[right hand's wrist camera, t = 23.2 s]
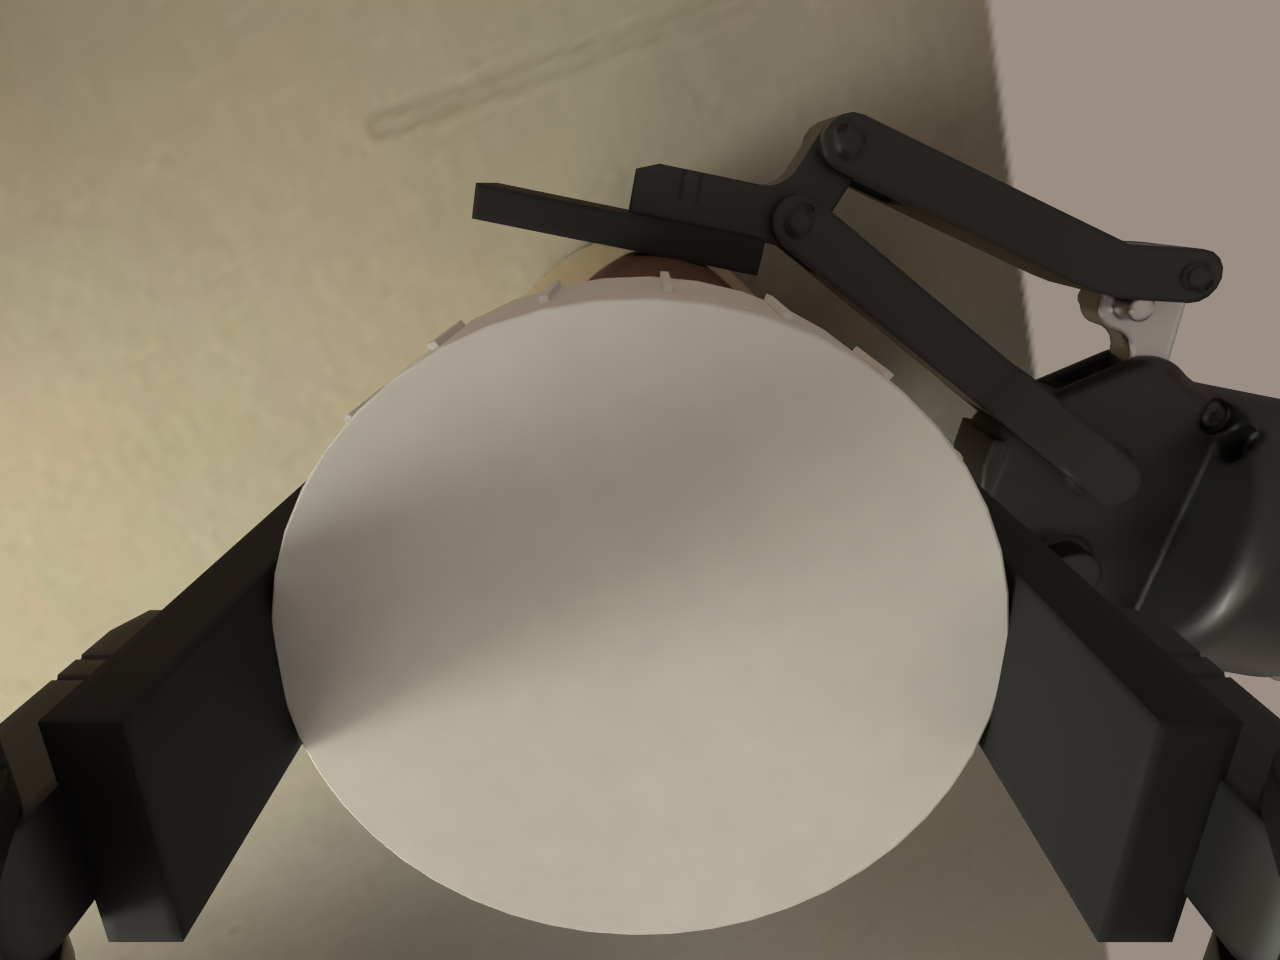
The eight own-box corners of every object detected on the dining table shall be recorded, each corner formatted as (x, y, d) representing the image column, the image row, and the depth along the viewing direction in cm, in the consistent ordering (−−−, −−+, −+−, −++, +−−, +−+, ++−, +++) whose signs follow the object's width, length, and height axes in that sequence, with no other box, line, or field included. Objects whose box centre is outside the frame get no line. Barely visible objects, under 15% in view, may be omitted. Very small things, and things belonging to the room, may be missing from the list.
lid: (629, 917, 14) (627, 1031, 13) (196, 580, 12) (112, 656, 10) (1076, 603, 12) (1158, 683, 10) (653, 107, 10) (657, 88, 8)
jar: (784, 460, 28) (971, 821, 12) (547, 506, 29) (432, 906, 13) (745, 207, 25) (929, 251, 9) (482, 264, 26) (227, 397, 10)
